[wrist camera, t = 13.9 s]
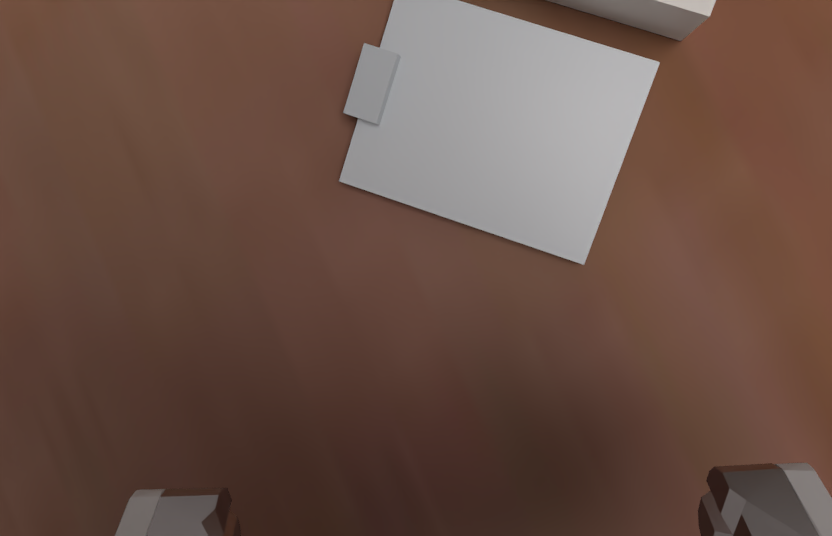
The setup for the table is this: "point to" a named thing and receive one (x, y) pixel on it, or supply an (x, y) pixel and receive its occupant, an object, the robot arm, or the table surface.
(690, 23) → the white divided tray
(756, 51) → the table surface
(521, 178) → the lid
